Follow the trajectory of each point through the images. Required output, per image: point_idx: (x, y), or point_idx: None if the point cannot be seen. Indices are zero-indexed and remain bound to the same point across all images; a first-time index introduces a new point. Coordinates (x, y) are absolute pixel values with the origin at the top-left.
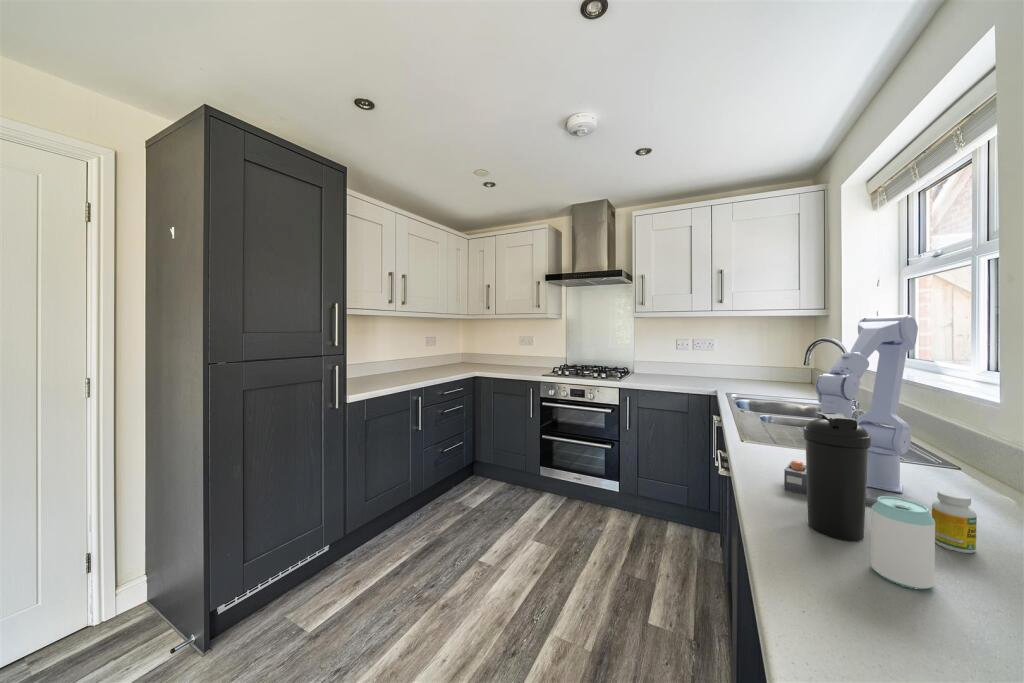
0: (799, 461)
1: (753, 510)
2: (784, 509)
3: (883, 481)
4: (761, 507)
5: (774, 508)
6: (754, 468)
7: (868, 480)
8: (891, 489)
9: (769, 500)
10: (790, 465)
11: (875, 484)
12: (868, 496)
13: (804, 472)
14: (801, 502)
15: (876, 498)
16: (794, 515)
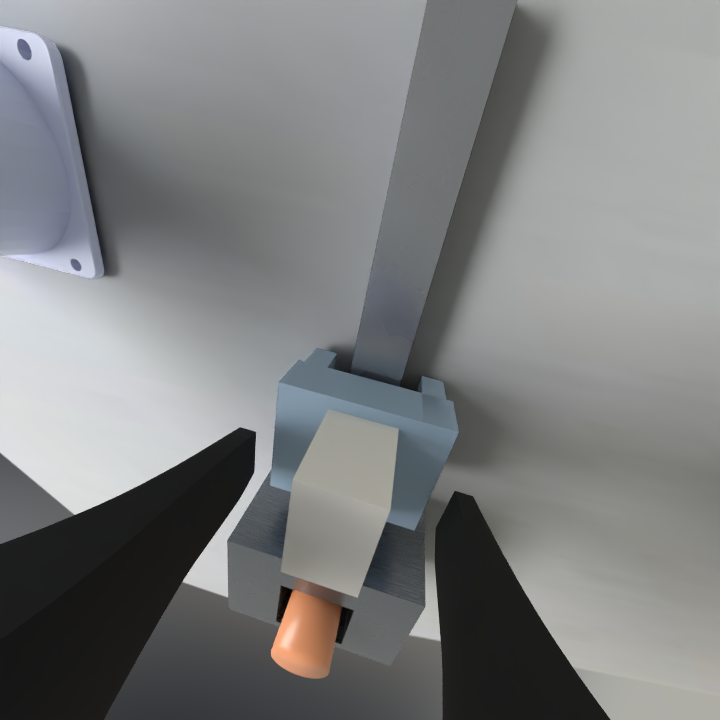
0: (272, 648)
1: (684, 675)
2: (640, 606)
3: (8, 143)
4: (642, 651)
5: (639, 626)
6: (213, 570)
7: (41, 229)
8: (57, 107)
9: (551, 617)
10: (277, 618)
11: (59, 196)
12: (376, 303)
13: (379, 615)
14: (525, 543)
15: (392, 265)
16: (705, 598)
